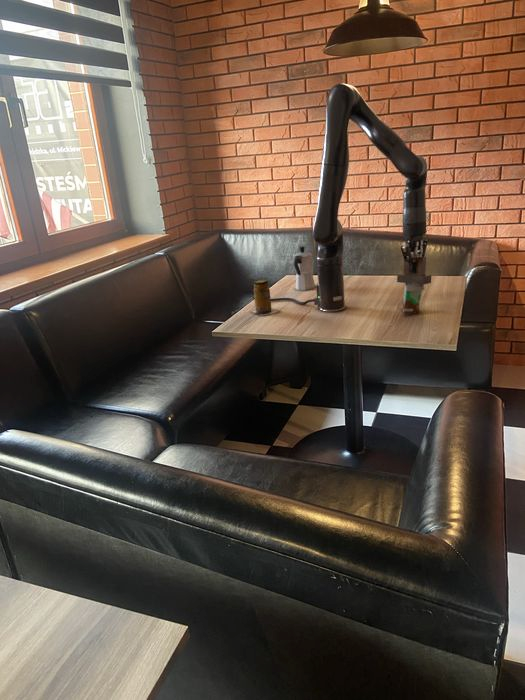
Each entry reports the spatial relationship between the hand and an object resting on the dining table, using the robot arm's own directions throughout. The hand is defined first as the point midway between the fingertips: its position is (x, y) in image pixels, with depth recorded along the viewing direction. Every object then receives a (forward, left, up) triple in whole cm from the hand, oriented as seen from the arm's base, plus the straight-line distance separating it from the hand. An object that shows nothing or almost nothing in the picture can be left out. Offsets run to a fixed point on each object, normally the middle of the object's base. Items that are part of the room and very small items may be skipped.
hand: (414, 272), depth 181 cm
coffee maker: (-58, +8, -14) cm, 61 cm away
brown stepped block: (0, -1, -3) cm, 4 cm away
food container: (0, -1, -14) cm, 14 cm away
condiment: (-49, -25, -14) cm, 57 cm away
